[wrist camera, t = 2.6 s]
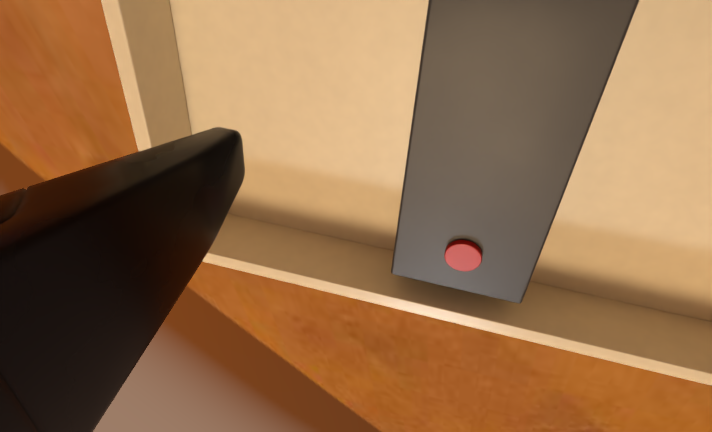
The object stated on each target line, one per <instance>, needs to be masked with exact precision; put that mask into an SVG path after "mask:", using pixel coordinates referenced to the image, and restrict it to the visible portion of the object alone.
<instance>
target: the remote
mask: <svg viewBox="0 0 712 432" xmlns="http://www.w3.org/2000/svg"><path fill="white" fill-rule="evenodd" d="M638 2H639V0H429V2H428V9H427V16H426V23H425V31H424V38H423V45H422V52H421V59H420V66H419V74H418V81H417V88H416V95H415V102H414V109H413V116H412V124H411V131H410V138H409V145H408V152H407V159H406V167H405V174H404V181H403V188H402V195H401V202H400V210H399V217H398V224H397V231H396V238H395V245H394V252H393V260H392V267H391V273H392V274H394V275H398V276H402V277H407V278H411V279H415V280H420V281H424V282H428V283H433V284H437V285H441V286H445V287H450V288H454V289H458V290H463V291H467V292H471V293H476V294H480V295H484V296H488V297H493V298H497V299H501V300H506V301H510V302H514V303H521V302H522V300H523V298H524V295H525V293H526V290H527V288H528V285H529V282H530V280H531V277H532V275H533V272H534V270H535V267H536V264H537V262H538V259H539V257H540V254H541V252H542V249H543V246H544V244H545V241H546V239H547V236H548V234H549V231H550V228H551V226H552V223H553V221H554V218H555V216H556V213H557V211H558V208H559V205H560V203H561V200H562V198H563V195H564V193H565V190H566V187H567V185H568V182H569V180H570V177H571V175H572V172H573V169H574V167H575V164H576V162H577V159H578V157H579V154H580V151H581V149H582V146H583V144H584V141H585V139H586V136H587V133H588V131H589V128H590V126H591V123H592V121H593V118H594V115H595V113H596V110H597V108H598V105H599V103H600V100H601V97H602V95H603V92H604V90H605V87H606V85H607V82H608V79H609V77H610V74H611V72H612V69H613V67H614V64H615V61H616V59H617V56H618V54H619V51H620V49H621V46H622V44H623V41H624V38H625V36H626V33H627V31H628V28H629V26H630V23H631V20H632V18H633V15H634V13H635V10H636V8H637V5H638Z"/></svg>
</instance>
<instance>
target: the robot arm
mask: <svg viewBox="0 0 712 432" xmlns="http://www.w3.org/2000/svg"><path fill="white" fill-rule="evenodd" d="M244 176H245V164H244V153H243V143H242V137H241V134H240V133H239V132H238V131H236V130H232V129H227V128H222V127H215V128H212V129H209V130H205V131H202V132H199V133H196V134H193V135H190V136H187V137H183V138H180V139H177V140H174V141H171V142H168V143H165V144H161V145H158V146H155V147H152V148H149V149H146V150H142V151H139V152H136V153H133V154H130V155H127V156H124V157H120V158H117V159H114V160H111V161H108V162H105V163H101V164H98V165H95V166H92V167H89V168H86V169H83V170H79V171H76V172H73V173H70V174H67V175H64V176H61V177H57V178H54V179H51V180H48V181H45V182H42V183H39V184H36V185H32V186H29V187H28V188H27V190H26V189H20V190H16V191H13V192H10V193H7V194H4V195H1V196H0V432H93V430H94V429H95V427H96V425H97V424H98V423H99V421H100V419H101V418H102V416H103V415H104V413H105V412H106V410H107V409H108V407H109V406H110V404H111V402H112V401H113V399H114V398H115V396H116V395H117V393H118V392H119V390H120V388H121V387H122V385H123V384H124V382H125V381H126V379H127V377H128V376H129V374H130V373H131V371H132V370H133V368H134V367H135V365H136V363H137V362H138V360H139V359H140V357H141V355H142V354H143V353H144V351H145V349H146V348H147V346H148V345H149V343H150V342H151V340H152V339H153V337H154V335H155V334H156V332H157V331H158V329H159V327H160V326H161V325H162V323H163V321H164V320H165V318H166V317H167V315H168V314H169V312H170V311H171V309H172V307H173V306H174V304H175V303H176V301H177V300H178V298H179V296H180V295H181V293H182V292H183V290H184V289H185V287H186V286H187V284H188V282H189V281H190V279H191V278H192V276H193V275H194V273H195V272H196V270H197V268H198V267H199V265H200V264H201V262H202V261H203V259H204V258H205V256H206V254H207V253H208V251H209V249H210V248H211V246H212V244H213V242H214V240H215V238H216V237H217V235H218V232H219V230H220V228H221V226H222V224H223V222H224V220H225V218H226V216H227V214H228V212H229V210H230V208H231V206H232V203H233V201H234V199H235V197H236V195H237V193H238V191H239V189H240V187H241V185H242V183H243V180H244Z"/></svg>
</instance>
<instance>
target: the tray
mask: <svg viewBox="0 0 712 432" xmlns="http://www.w3.org/2000/svg"><path fill="white" fill-rule="evenodd" d="M428 2H429V0H101V3H102V7H103V11H104V15H105V19H106V23H107V27H108V31H109V35H110V39H111V43H112V47H113V51H114V55H115V59H116V63H117V67H118V71H119V75H120V79H121V83H122V87H123V91H124V95H125V99H126V103H127V107H128V111H129V115H130V119H131V123H132V127H133V131H134V135H135V140H136V144H137V148H138V152H139V151H142V150H146V149H149V148H152V147H155V146H158V145H161V144H165V143H168V142H171V141H174V140H177V139H180V138H183V137H187V136H190V135H193V134H196V133H199V132H202V131H205V130H209V129H212V128H215V127H222V128H227V129H232V130H236V131H238V132H239V133H240V134H241V137H242V143H243V153H244V164H245V176H244V180H243V183H242V185H241V187H240V189H239V191H238V193H237V195H236V197H235V199H234V201H233V203H232V206H231V208H230V210H229V212H228V214H227V216H226V218H225V220H224V222H223V224H222V226H221V228H220V230H219V232H218V235H217V237H216V238H215V240H214V242H213V244H212V246H211V248H210V249H209V251H208V253H207V254H206V256H205V258H204V259H203V262H207V263H211V264H215V265H219V266H223V267H227V268H231V269H236V270H240V271H244V272H248V273H252V274H256V275H260V276H264V277H268V278H272V279H277V280H281V281H285V282H289V283H293V284H297V285H301V286H305V287H309V288H313V289H318V290H322V291H326V292H330V293H334V294H338V295H342V296H346V297H350V298H354V299H359V300H363V301H367V302H371V303H375V304H379V305H383V306H387V307H391V308H395V309H400V310H404V311H408V312H412V313H416V314H420V315H424V316H428V317H432V318H436V319H441V320H445V321H449V322H453V323H457V324H461V325H465V326H469V327H473V328H477V329H482V330H486V331H490V332H494V333H498V334H502V335H506V336H510V337H514V338H518V339H523V340H527V341H531V342H535V343H539V344H543V345H547V346H551V347H555V348H559V349H564V350H568V351H572V352H576V353H580V354H584V355H588V356H592V357H596V358H600V359H605V360H609V361H613V362H617V363H621V364H625V365H629V366H633V367H637V368H641V369H646V370H650V371H654V372H658V373H662V374H666V375H670V376H674V377H678V378H682V379H687V380H691V381H695V382H699V383H703V384H707V385H711V386H712V0H639V2H638V5H637V8H636V10H635V13H634V15H633V18H632V20H631V23H630V26H629V28H628V31H627V33H626V36H625V38H624V41H623V44H622V46H621V49H620V51H619V54H618V56H617V59H616V61H615V64H614V67H613V69H612V72H611V74H610V77H609V79H608V82H607V85H606V87H605V90H604V92H603V95H602V97H601V100H600V103H599V105H598V108H597V110H596V113H595V115H594V118H593V121H592V123H591V126H590V128H589V131H588V133H587V136H586V139H585V141H584V144H583V146H582V149H581V151H580V154H579V157H578V159H577V162H576V164H575V167H574V169H573V172H572V175H571V177H570V180H569V182H568V185H567V187H566V190H565V193H564V195H563V198H562V200H561V203H560V205H559V208H558V211H557V213H556V216H555V218H554V221H553V223H552V226H551V228H550V231H549V234H548V236H547V239H546V241H545V244H544V246H543V249H542V252H541V254H540V257H539V259H538V262H537V264H536V267H535V270H534V272H533V275H532V277H531V280H530V282H529V285H528V288H527V290H526V293H525V295H524V298H523V300H522V302H521V303H514V302H510V301H506V300H501V299H497V298H493V297H488V296H484V295H480V294H476V293H471V292H467V291H463V290H458V289H454V288H450V287H445V286H441V285H437V284H433V283H428V282H424V281H420V280H415V279H411V278H407V277H402V276H398V275H394V274H392V273H391V267H392V260H393V252H394V245H395V238H396V231H397V224H398V217H399V210H400V202H401V195H402V188H403V181H404V174H405V167H406V159H407V152H408V145H409V138H410V131H411V124H412V116H413V109H414V102H415V95H416V88H417V81H418V74H419V66H420V59H421V52H422V45H423V38H424V31H425V23H426V16H427V9H428Z"/></svg>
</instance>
